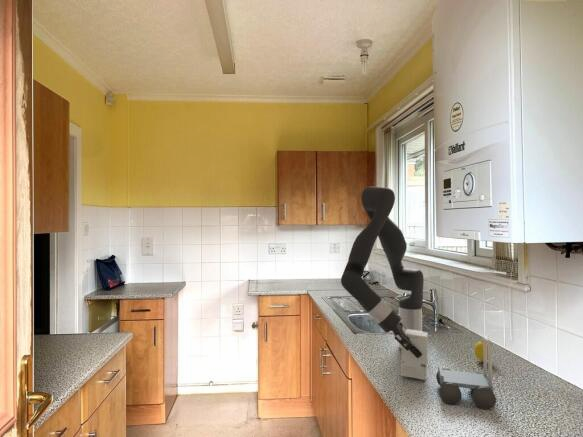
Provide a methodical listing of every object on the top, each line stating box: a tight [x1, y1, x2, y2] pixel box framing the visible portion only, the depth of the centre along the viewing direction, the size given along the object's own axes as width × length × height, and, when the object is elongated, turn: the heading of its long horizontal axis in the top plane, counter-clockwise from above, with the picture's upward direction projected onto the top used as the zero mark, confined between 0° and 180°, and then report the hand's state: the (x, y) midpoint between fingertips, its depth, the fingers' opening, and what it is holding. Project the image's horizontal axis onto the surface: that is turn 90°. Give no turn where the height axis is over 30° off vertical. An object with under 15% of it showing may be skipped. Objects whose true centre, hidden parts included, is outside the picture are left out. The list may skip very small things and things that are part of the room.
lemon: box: [474, 340, 488, 363], centre depth 141 cm, size 6×6×8 cm
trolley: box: [435, 335, 497, 410], centre depth 114 cm, size 12×15×18 cm
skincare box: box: [400, 329, 429, 381], centre depth 127 cm, size 8×6×15 cm
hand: (419, 352), depth 127 cm, fingers closed on skincare box, 6 cm apart
